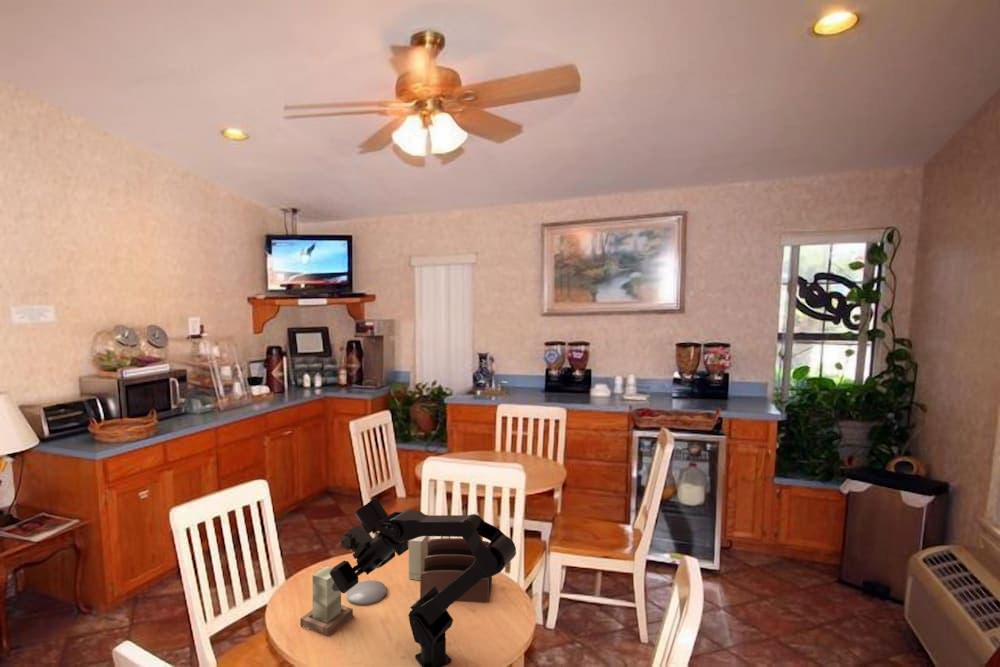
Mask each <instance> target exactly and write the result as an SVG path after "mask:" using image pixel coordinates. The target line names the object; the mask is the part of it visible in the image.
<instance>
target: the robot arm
mask: <svg viewBox="0 0 1000 667" xmlns="http://www.w3.org/2000/svg"><path fill="white" fill-rule="evenodd" d="M354 515H355V516H356V518H357V519H358V522H359V523H360V524H361V526H360V525H356V526H354V527H352V528H351V529H348V530H347V532H346V533H344V535H343V536H341V541H340V545H341V546H342V548H344V549H345V550H346V551H350V550H352V551H353V552H354V553H352V556H353V559H354V560H356V563H357V564H356V565H354V566H353V567H352V565H351V563H350V561H348V560H343V561H341V562H340V563H338V564H336V565H335V566H334V567H332V568H333V569H332V570H331V571H330V575H331V577H332V579H333V580H334V584H333V586H332V589H333V591H340V592H341V594H347V591H348V590H350V589H351V588H353V587H354V586H355V585H356V584H357V583H359V576H360V575H362V574H364V573H365V574H366V575H369V574H370V573H371V572H373V571H375V570H376V569H379V568H382V567H383V566H384V565H386V564H387V563H389V562H391V560H393V559H394V558H395V557H396V555H397V556H399V557H400V556H401V555H402V554H404V553H405V552H407V551H409V544H408V542H409V540H412V539H415V538H418V537H422V536H428V537H441V538H464V539H465V540H466V541H467V543H468V545H469V547H470V550H471V552H472V554H473V555H474V556H475V558H476V559H475V561H474V563H473V564H472V565H471V566H470V567H469V568H468V569H466V570H465V571H464V572H463V573H462V574H460V575H459V576H458V577H457V578H456V579H455V580H453V581H452V582H451V583H450V584H449V585H447V586H446V587H445V588H444V589H443V590H441V591H437V589H436V587H435V586H434V587H433V588H432V589H431V590H430V591H429V592H428V593H426V594H425V595H423V596H422V597H421V598H420V597H419V599H418V600H416V602H414V604H412V605H411V606H410V612H409V614H407V615H408V620H409V621H408V622H409V626H410V630H411V632H412V636H413V639H414V642H415V643H417V644H418V645H419V646H420V652H418V653H417V654H415V655H414V659H415V660H416V661H417V662H418V664H419V665H420V667H444V666H447V665H449V664H451V663H452V658H451V657H450V656H449V654H447V652H446V651H447V650H446V649H447V648H446V646H447V645H446V644H447V642H446V641H447V638H446V636H447V635H446V634H447V633H446V632H447V631H448V630H449V629H450V628H451V627H452V624H453V622H454V619H453V617H452V616H451V615H450V612H449V611H448V609H449V607H450V606H451V605H452V604H454V603H455V602H457V601H456V600H457V599H458V598H460V597H461V596H462V595H463V594H465V593H466V592H467V591H468V590H469V589H471V588H472V587H473V586H474V585H476V584H477V583H478V582H479V581H480V580H482V579H486V578H490V577H492V578H493V576H496V575H498V574H499V573H501V572H502V571H503V570H504V569H505V568H506V567H507V565H508V564H510V562H512V560H513V559H514V558H515V557H516V554H517V549H516V548H517V547H516V544H515V543H514V540H512V538H510V536H508V535H506V534H505V533H503V532H502V530H500V528H498V527H496V526H494V525H493V524H491V523H489V522H486V521H485V520H484V519H483V518H482V517H481V516H480V515H478V514H475V513H473V514H472V513H471V514H467V515H466V514H460V515H459V514H458V515H457V514H456V515H455V514H454V515H446V514H445V515H444V514H442V515H439V514H438V515H433V514H432V515H428V514H426V513H423V512H422V511H420V510H415V509H406V510H404V511H393V512H391V513H390V514H388V513H387V511H386V510H385V509H384V507H383V506H382V504H381V502H380V500H379V498H378V497H375V498H372V499H371V500H370V501H369V502H368V503H366V504H364V505H363V506H362V507H360V508H359V509H358V508H357V510H356V511H355V513H354ZM378 532H379V533H378ZM371 533H372V534H376V535H375V536H374V537H373V536H371ZM481 537H482V538H484V539H486V540H488V541H490V544H488V545H487V546H485V545H484V544H483V543H482V541H483V540H482V539H481Z"/></svg>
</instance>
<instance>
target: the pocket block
mask: <svg viewBox="0 0 1000 667" xmlns="http://www.w3.org/2000/svg"><path fill="white" fill-rule="evenodd" d="M353 616H354V609H353V608H351V607H349V606H346V605H343V604H341V614H340V615H338V616H337V617H336V618H335V619H333V620H332V621H331V622H329V623H328V624H325V623H323V622H320V621H317V620H315V619H313V609H311V610H310V611H309V612H307V613H306V614H305V615H303V616H302V617H300V620H299V621H300V624H299V625H301V626H300V627H302V626H304V627H306V628H305V629H307V628H309V629H311V630H310V631H312V630H313V631H312V632H315V631H316V632H315V633H317V632H318V634H320V635H322V634H323V636H326V637H329V636H330V634H332V633H334V631H336V630H337V629H339V627H341V626H342V625H344V624H345V623H346V622H347V621H348V620H350V619H351V618H352V617H353ZM304 627H303V628H304ZM309 629H308V630H309Z"/></svg>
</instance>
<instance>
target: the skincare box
mask: <svg viewBox="0 0 1000 667" xmlns="http://www.w3.org/2000/svg"><path fill="white" fill-rule="evenodd" d="M428 541H429V536H422V537H418V538H415V539H412V540H409V541H408V579H409V580H413V579H414V581H420V576H421V573H422V572H424V558H425V557H426V556H427V543H428Z"/></svg>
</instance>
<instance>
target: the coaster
mask: <svg viewBox="0 0 1000 667" xmlns="http://www.w3.org/2000/svg"><path fill="white" fill-rule="evenodd" d="M386 595H387V586H386V585H385V583H384V582H382V581H378V580H370V579H369V580H363V581H358V583H357V584H356V585H355V586H354V587H353V588H351V589H350V590H348V591H347V592H346V600H347V601H348V603H350V604H352V605H355V606H368V605H369V606H370V605H373V604H376V603H378V602H380V601H382V600H383V599H384V598H385V596H386Z"/></svg>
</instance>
